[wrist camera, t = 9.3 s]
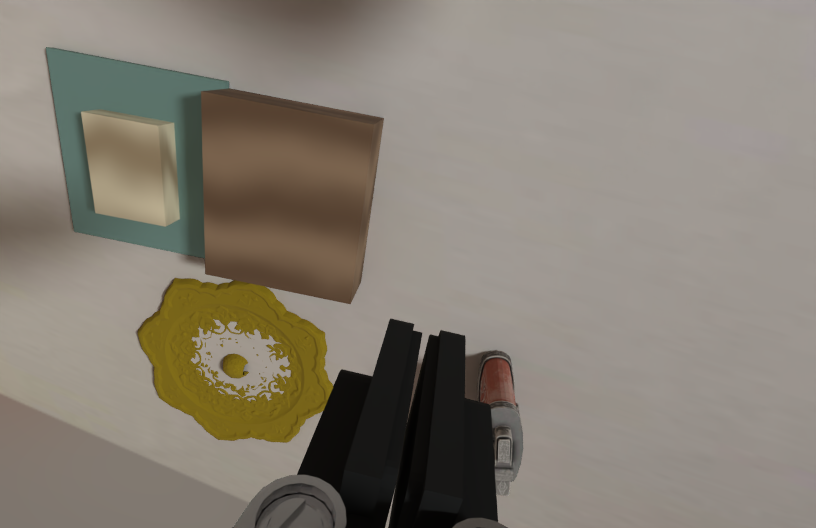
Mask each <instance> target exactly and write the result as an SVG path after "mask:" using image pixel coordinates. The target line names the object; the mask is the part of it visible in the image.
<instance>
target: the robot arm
mask: <svg viewBox="0 0 816 528" xmlns="http://www.w3.org/2000/svg"><path fill="white" fill-rule="evenodd" d="M413 327H414V324H412V323H407V322H403V321H399V320H394V319H390V321H389V324H388V327H387V331H386V334H385V337H384V341H383V344H382V347H381V350H380V354H379V357H378V360H377V364H376V367H375V370H374V374H373V377H372V376H368V375H364V374H359V373H355V372H351V371H347V370H341V371H340V372H339V375H338V377H337V379H336V382H335V384H334V386H333V389H332V391H331V394H330V396H329V398H328V401H327V403H326V406H325V408H324V411H323V413H322V415H321V418H320V420H319V423H318V425H317V428H316V430H315V432H314V435H313V437H312V440H311V442H310V444H309V447H308V449H307V452H306V454H305V457H304V459H303V461H302V464H301V466H300V469H299V471H298V474H297V475H289V476H286V477H283V478H280V479H277V480H275V481H273V482H271V483H270V484H268V485H267V486H265V487H263V488H262V489H261V490H260V491H259V492H258V494H257V495H256V496H255V497H254V498H253V499H252V500H251V502H250V503H249V505H248V506H247V508H246V509H245V511H244V512H243V513H242V515H241V516H240V518H239V519H238V521H237V522H236V524H235V525H234V527H233V528H385V525H386V521H387V517H388V513H389V509H390V506H391V502H392V498H393V494H394V498H393V504H392V510H391V516H390V522H389V527H388V528H507V527H506V526H504V525H502V524H500V523H498V515H497V498H496V482H495V465H494V449H493V432H492V416H491V407H490V405H489V404H487V403H483V402H478V401H474V400H470V399H466V398H465V336H464V335H459V334H455V333H451V332H446V331H442V330H441V331H440V333H439V336H434V335H429V339H428V343H427V347H426V351H425V355H424V359H423V363H422V366H421V370H420V374H419V378H418V382H417V386H416V390H415V394H414V398H413V402H412V406H411V410H410V414H409V418H408V413H409V407H410V402H411V396H412V390H413V384H414V378H415V372H416V367H417V361H418V355H419V349H420V343H421V337H422V333H421V332H417V331H413ZM407 419H408V422H407ZM406 425H407V426H406ZM395 485H396V487H395ZM394 490H395V493H394Z"/></svg>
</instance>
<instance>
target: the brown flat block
mask: <svg viewBox="0 0 816 528" xmlns="http://www.w3.org/2000/svg"><path fill="white" fill-rule="evenodd" d="M201 113H202V154H203V196H204V238H205V274H207V275H212V276H217V277H222V278H227V279H231V280H236V281H241V282H246V283H251V284H256V285H260V286H265V287H270V288H275V289H280V290H284V291H289V292H294V293H299V294H304V295H309V296H313V297H318V298H323V299H328V300H333V301H338V302H342V303H347V304H351V302H352V300H353V298H354V295H355V293H356V291H357V289H358V287H359V285H360V283H361V277H362V270H363V263H364V256H365V249H366V242H367V235H368V228H369V220H370V213H371V206H372V199H373V192H374V185H375V178H376V170H377V163H378V156H379V149H380V142H381V135H382V128H383V121H384V118H380V117H375V116H370V115H365V114H359V113H354V112H349V111H344V110H339V109H333V108H328V107H323V106H318V105H313V104H307V103H302V102H297V101H292V100H286V99H281V98H276V97H271V96H266V95H260V94H255V93H250V92H245V91H240V90H234V89H219V90H209V91H201Z"/></svg>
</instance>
